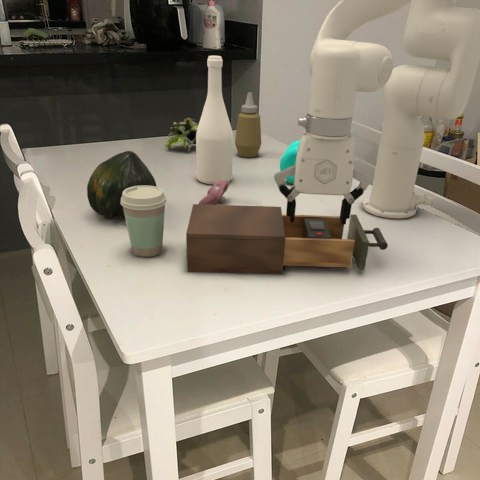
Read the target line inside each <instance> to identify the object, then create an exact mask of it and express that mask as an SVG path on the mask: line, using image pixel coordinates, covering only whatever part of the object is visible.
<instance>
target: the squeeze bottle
mask: <svg viewBox="0 0 480 480" xmlns="http://www.w3.org/2000/svg"><path fill="white" fill-rule="evenodd" d="M261 127H262V126H261V115H260V114H259V113H258V105H256V104H255V102H254V96H253V92H251V91H250V92H247V94H246V100H245V104H242V105H241V112H240V113H239V114H238V115H237V121H236V129H235V130H236V131H235V138H234V144H235V147H236V151H237V154H238V156H240V157H243V158H254V157H257V156H258V155H259V152H260V149H261V147H262V129H261Z"/></svg>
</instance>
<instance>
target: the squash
mask: <svg viewBox="0 0 480 480" xmlns="http://www.w3.org/2000/svg"><path fill="white" fill-rule="evenodd" d="M142 185H147V186H155V187H158V186H157V183H156V179H155V177H154V176H153V174H152V172H151V171H150V169H149V168H148V167H147V165H146V164H145V163H144V162H143V160H142V159H141V158H140V157H139V155H138V154H137V153H135V152H134V151H132V150H126V151H123V152H119V153H117V154H115V155H113V156H111V157H109V158H108V159H106V160H104V161H102V162H101V163H99V164H98V165H97V166H96V168H94V170H93V172H92V173H91V175H90V176H89V180H88V182H87V186H86V196H87V200H88V204H89V206H90V207H91V209H92V210H93V211H94V213H96V214H98V215H100V216H102V217H104V218H106V219H116V218H118V217H119V218H120V219H125V215H124V210H123V206H122V205H121V203H120V202H121V197H122V193H123V191H124V190H125V189H127V188H129V187H133V186H142Z"/></svg>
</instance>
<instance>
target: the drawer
mask: <svg viewBox="0 0 480 480" xmlns="http://www.w3.org/2000/svg"><path fill="white" fill-rule="evenodd" d="M282 217H283V224H284V230H285V248H284V260H283V266H293V267H296V266H298V267H325V268H351V267H352V261H353V262H354V263H355V266H356V269H357V271H358V272H365V271H366V270H365V269H366V264H367V258H368V253H369V248H379V250H381V251H386V250H387V249H388V247H389V244H388V242H387V240H386V238H385V236H384V234H383V232H382V231H381V228H379V227H374V228H372V229H364V228H363V225H362V223H361V221H360V218H359V217H358V215H357V214H351V213H350V218H349V223H348V230H347V237H346V238H343V236H344V229H345V225H343V224H342V223H341V221H340V215H315V214H314V215H312V214H311V215H309V214H295V219H294V222H290V218H289V216H286V214H282ZM304 219H325V220H326V223H327V226H328V229H329V232H330V235H331V239H320V238H302V236H303V226H304ZM367 235H372V236H373V238H374V240H375V242H370V240H369V238H368V236H367Z"/></svg>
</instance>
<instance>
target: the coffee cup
mask: <svg viewBox="0 0 480 480" xmlns="http://www.w3.org/2000/svg"><path fill="white" fill-rule="evenodd" d="M167 202H168V201H167V197H166V195H165V193H164V190H163V189H162V188H161V187H159V186H157V187H155V186H147V185H142V186H133V187H129V188H127V189H125V190H124V191H123V193H122V197H121V202H120V203H121V205H122V206H123V210H124V215H125V218H124V219H125V224H126V228H127V229H126V230H127V233H128V238H129V242H130V247H131V251H132V254H133V255H135V256H137V257H141V258H150V257H155V256H158V255H160V254H162V252H163V242H164V228H165V226H164V225H165V214H166V213H165V212H166V211H165V210H166V204H167Z"/></svg>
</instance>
